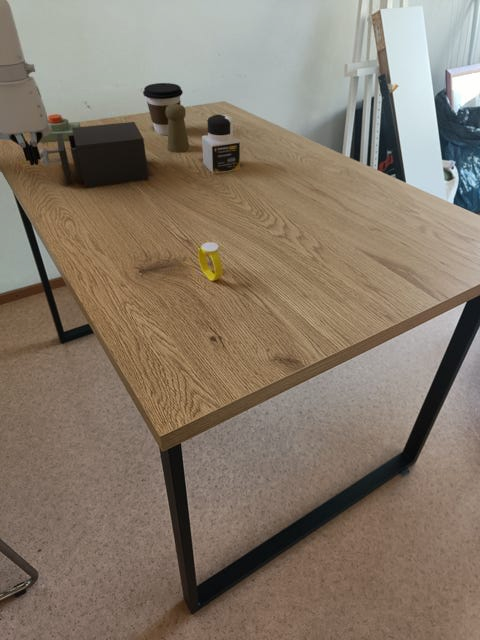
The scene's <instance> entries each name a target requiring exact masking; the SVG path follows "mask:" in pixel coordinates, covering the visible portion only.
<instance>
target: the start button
mask: <svg viewBox="0 0 480 640" xmlns="http://www.w3.org/2000/svg"><path fill="white" fill-rule="evenodd" d="M47 118H48V120H49V123H50V124H58V123H62V122H63V121H62V118H63V116H62V114H57V113H55V114H54V113H53V114H50V115H47Z"/></svg>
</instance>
